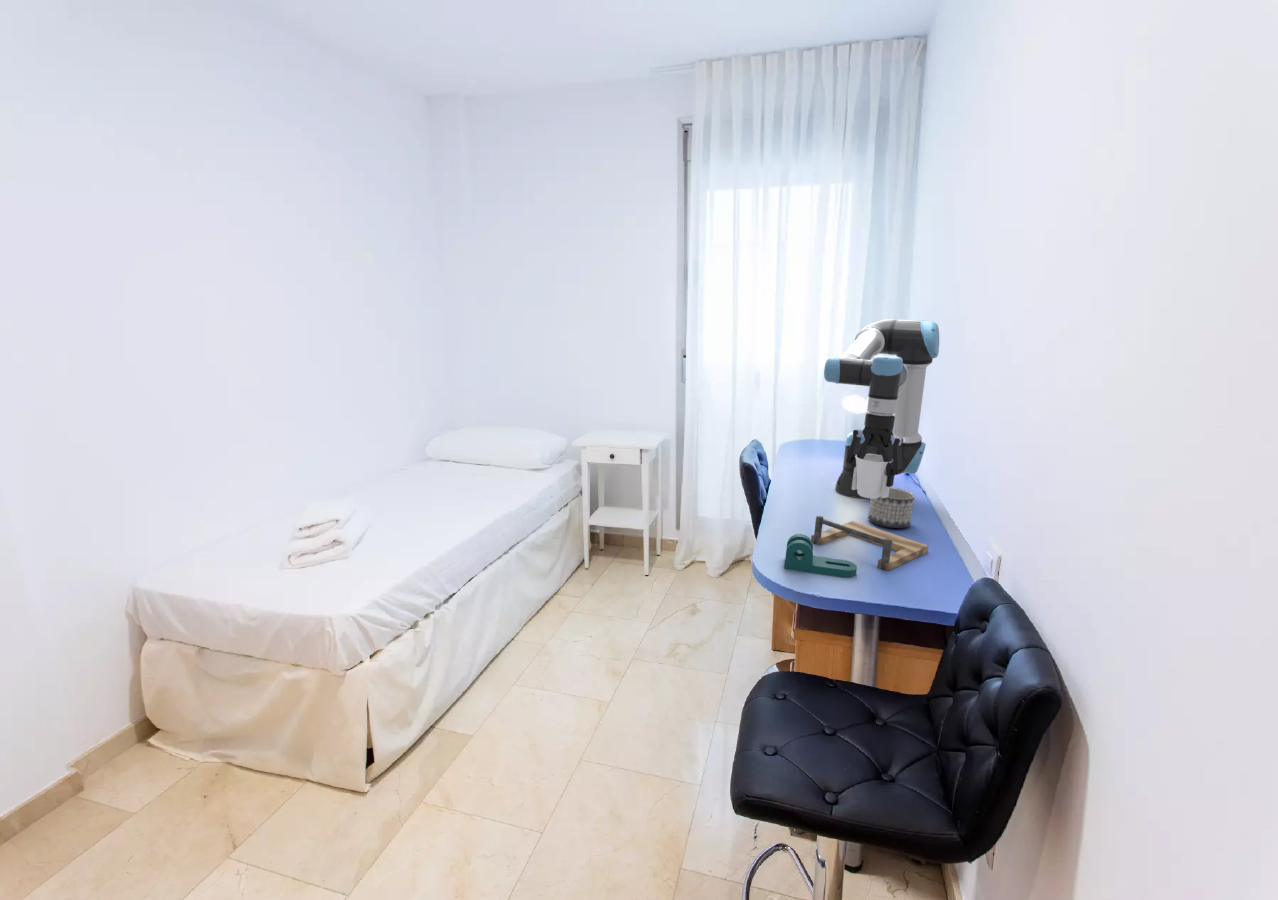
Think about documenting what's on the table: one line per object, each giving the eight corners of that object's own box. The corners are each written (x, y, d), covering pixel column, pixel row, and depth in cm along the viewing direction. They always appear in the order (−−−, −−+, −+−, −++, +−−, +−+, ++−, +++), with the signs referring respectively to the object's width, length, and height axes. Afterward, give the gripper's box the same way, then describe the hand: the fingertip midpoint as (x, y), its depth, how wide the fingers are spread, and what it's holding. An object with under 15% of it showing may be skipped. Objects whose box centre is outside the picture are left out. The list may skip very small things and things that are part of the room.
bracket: (784, 569, 158) (787, 541, 156) (785, 559, 164) (788, 532, 162) (856, 580, 153) (860, 551, 151) (855, 569, 159) (858, 541, 157)
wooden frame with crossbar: (852, 526, 190) (855, 502, 188) (927, 552, 172) (931, 525, 170) (810, 541, 176) (813, 516, 175) (887, 571, 158) (891, 542, 157)
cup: (842, 491, 172) (847, 454, 170) (869, 489, 176) (874, 452, 173) (867, 502, 163) (873, 463, 161) (895, 499, 167) (901, 461, 164)
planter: (864, 515, 202) (868, 485, 199) (905, 519, 199) (909, 489, 197) (871, 528, 190) (875, 496, 187) (913, 532, 187) (918, 501, 185)
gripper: (838, 408, 170) (829, 485, 175) (911, 421, 154) (898, 505, 159) (853, 406, 174) (844, 481, 180) (925, 418, 158) (912, 500, 164)
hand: (869, 492), depth 169 cm, fingers closed on cup, 8 cm apart
